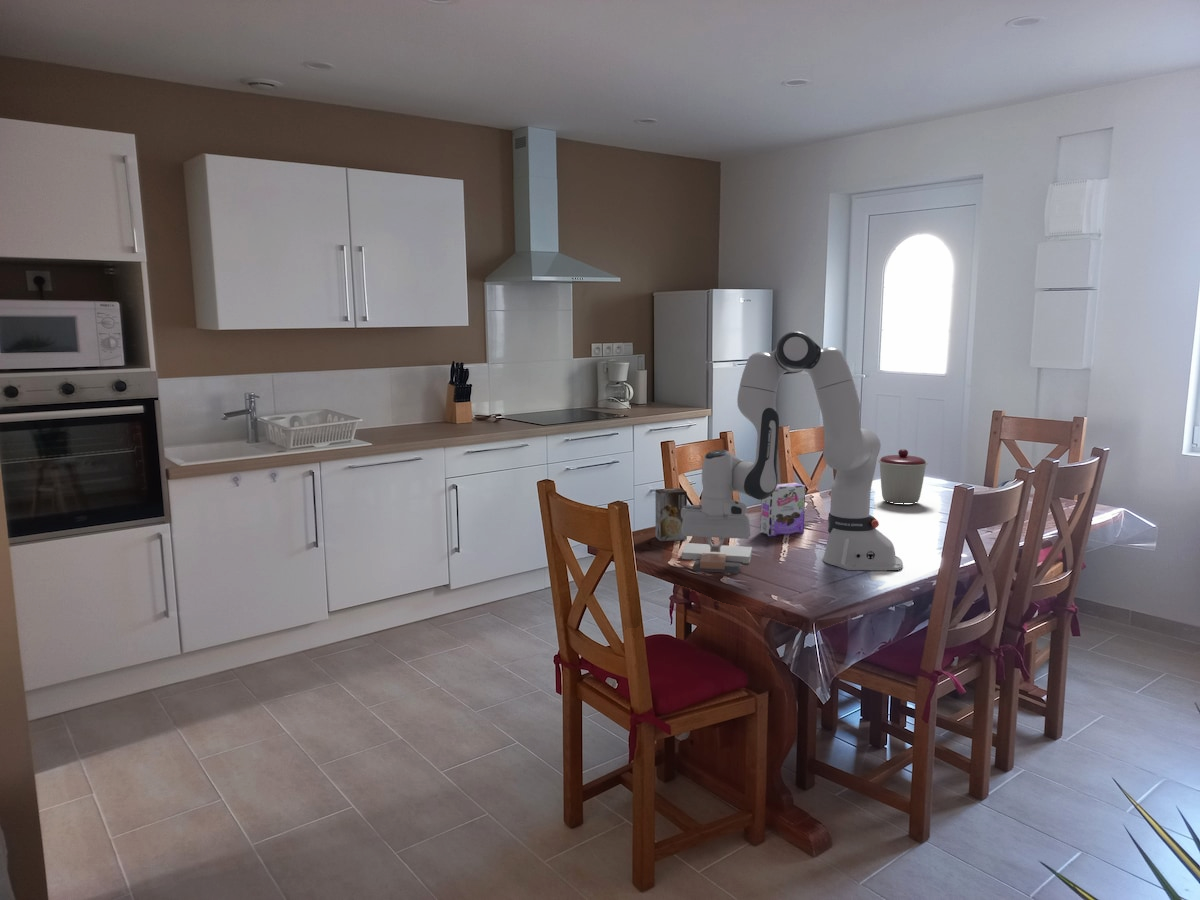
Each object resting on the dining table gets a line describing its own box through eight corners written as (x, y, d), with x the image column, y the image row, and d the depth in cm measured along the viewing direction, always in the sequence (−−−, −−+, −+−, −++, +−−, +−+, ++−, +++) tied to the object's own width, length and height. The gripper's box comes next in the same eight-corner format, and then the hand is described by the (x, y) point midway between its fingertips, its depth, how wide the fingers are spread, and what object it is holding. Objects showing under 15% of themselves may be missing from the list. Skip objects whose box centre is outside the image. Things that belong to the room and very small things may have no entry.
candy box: (769, 537, 281) (770, 487, 278) (759, 532, 286) (760, 484, 284) (804, 533, 286) (806, 484, 284) (794, 529, 291) (796, 481, 289)
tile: (725, 560, 252) (726, 554, 252) (724, 569, 243) (724, 562, 243) (702, 559, 253) (702, 552, 253) (699, 568, 245) (700, 561, 244)
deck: (751, 553, 261) (752, 547, 261) (749, 563, 251) (749, 556, 250) (686, 549, 266) (687, 543, 266) (681, 558, 255) (681, 552, 255)
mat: (740, 563, 251) (740, 562, 251) (737, 574, 240) (737, 572, 240) (696, 560, 254) (696, 559, 254) (691, 570, 243) (691, 569, 243)
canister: (866, 499, 338) (869, 446, 335) (905, 496, 344) (908, 444, 340) (895, 509, 321) (898, 453, 318) (935, 506, 327) (938, 451, 323)
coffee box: (681, 535, 283) (682, 487, 281) (687, 540, 277) (688, 491, 274) (654, 536, 281) (655, 488, 279) (659, 541, 275) (660, 492, 273)
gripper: (679, 506, 249) (679, 552, 251) (751, 509, 246) (749, 556, 248) (681, 502, 255) (681, 547, 258) (751, 504, 252) (749, 550, 254)
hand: (715, 551), depth 253 cm, fingers closed
